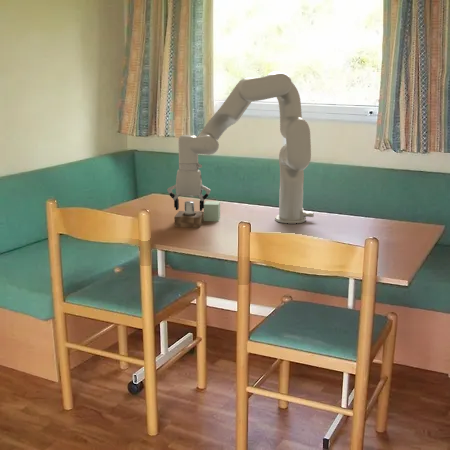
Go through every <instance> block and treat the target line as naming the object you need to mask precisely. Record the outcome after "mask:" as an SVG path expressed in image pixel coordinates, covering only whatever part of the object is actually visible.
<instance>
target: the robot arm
mask: <svg viewBox="0 0 450 450" xmlns="http://www.w3.org/2000/svg"><path fill="white" fill-rule="evenodd" d="M274 98H276V99H277V102H278V107H279V129H280V130H279V131H280V134H281V136H282V137H283V138H285V142H286V143H285V144H283V146H282V147H281V148H280V150H279V154H278V160H279V161H278V163H279V198H278V199H279V200H278V202H279V203H278V205H279V206H278V214H277V215H276V216H274V220H275V221H276V222H278V223H281V224H287V223H288V224H289V225H290V224H293V225H294V224H296V223H297V224H302V223H305V222H306V221H307V218H314V217H315V216H314V212H313V211H305V210H304V208H303V206H304V202H303V201H304V181H305V180H304V179H305V174H304V173H305V172H304V170H306V168H307V167H308V166H309V165H310V162H311V158H312V148H311V147H312V144H311V143H312V142H311V129H310V126H309V124H308V122H307V121H306V120H305V119H304V118H303V115H302V114H303V113H302V103H301V97H300V93H299V90H298V88H297V86H296V85H295V84H294V82H292V79H291V77H290V76H289V75H288V74H287V73H285V72H280V71H271V72H269V73H267V75H265V76H260V77H259V76H258V77H253V78H252V77H244V78H242V79H240V80H239V81H238V83H236V85H235V86H234V88H233V89H232V90H231V92H230V93H229V95H228V96H227V98H226V99H225V101H224V102H223V103H222V105H221V106H220V107H219V108H218V110H217V111H216V112H215V114H213V115H212V117H211V118H210V119H209V120H208V122H207V123H206V124H205V126H203V129H202V130H201V131H200V133H199V135H198V136H196V135H194V134H183V135H180V136H179V137H178V169H177V171H176V177H175V184H174V185H172V186H170V187H168V188H167V189H166V190H167V193H168V194H169V197H170V198H172V200H173V206H174V209H175V211H179V208H180V203H179V197H198V199H199V211H200V212H203V210H204V203H205V201H206V199H207V198H208V197H209V195H210V193H211V191H212V190H211V189H210V188H208V187H207V186H205V185H204V184H203V180H202V179H203V178H202V172H201V170H200V169H202V168H203V165H202V164H200V163H199V155H207V156H210V155H211V156H212V155H214V154H215V153H217V152H218V150H219V147H220V145H219V139H220V138H221V136H222V135H223V133H224V132H225V131H226V130H227V129H228V128H230V127H231V126H233V125H235V124H236V123H238V122H239V120H240V119H241V118H242V117H243V114H244V113H245V112H246V110H247V109H248V107H249V106H250V105H251V104H252V103H253V102H258V101H264V100H269V99H274ZM173 190H175V193H174V192H173ZM203 191H205V193H204V194H202V193H203Z"/></svg>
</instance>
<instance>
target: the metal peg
mask: <svg viewBox="0 0 450 450" xmlns="http://www.w3.org/2000/svg"><path fill="white" fill-rule="evenodd" d="M184 211H185V216H194V211H195V201H194V200H193V201H192V200H185V201H184Z"/></svg>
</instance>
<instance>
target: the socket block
mask: <svg viewBox="0 0 450 450" xmlns="http://www.w3.org/2000/svg"><path fill="white" fill-rule="evenodd" d="M204 222H205V221H204V211H200V210H199V211H197V210H196V211H195V210H194V216H185V210H178V212H177V213H176V215H175V216H174V227H175V228H198V229H199V228H201V227H202V224H203V223H204Z"/></svg>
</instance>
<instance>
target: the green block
mask: <svg viewBox="0 0 450 450" xmlns="http://www.w3.org/2000/svg"><path fill="white" fill-rule="evenodd" d="M203 212H204V221H203V222H220V220H221V201H220V200H219V201H217V200H216V201H214V200H211V201H210V200H205V201H204V208H203Z"/></svg>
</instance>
